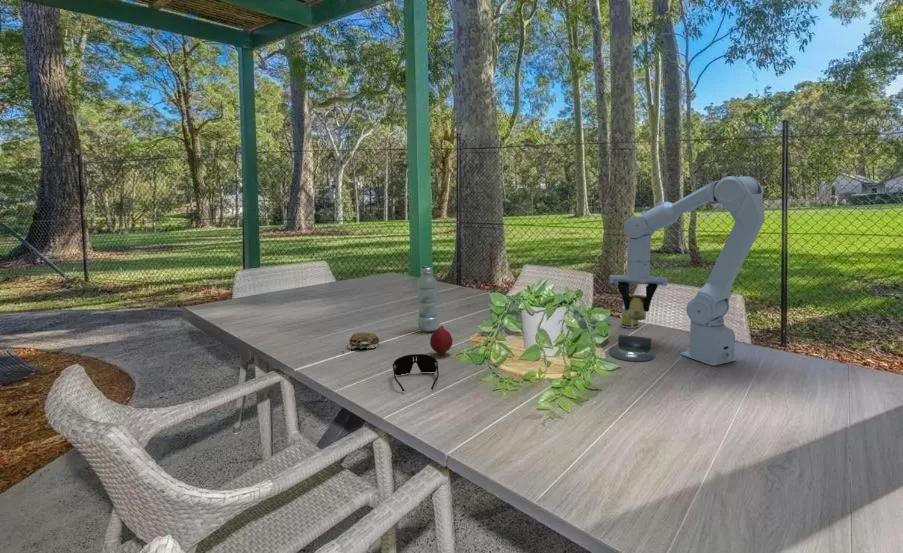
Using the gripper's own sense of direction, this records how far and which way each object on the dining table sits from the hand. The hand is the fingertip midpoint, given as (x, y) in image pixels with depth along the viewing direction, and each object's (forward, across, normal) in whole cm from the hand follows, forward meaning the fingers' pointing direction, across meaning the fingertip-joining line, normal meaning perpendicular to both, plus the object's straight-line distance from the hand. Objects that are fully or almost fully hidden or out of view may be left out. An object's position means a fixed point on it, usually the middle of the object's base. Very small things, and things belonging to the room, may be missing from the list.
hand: (636, 310), depth 134 cm
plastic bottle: (+9, +59, +14) cm, 61 cm away
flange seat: (+9, -1, +12) cm, 15 cm away
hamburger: (+10, +68, +36) cm, 78 cm away
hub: (+2, 0, 0) cm, 2 cm away
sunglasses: (+9, +39, +50) cm, 65 cm away
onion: (+9, +44, +32) cm, 55 cm away
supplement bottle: (+9, +4, -15) cm, 18 cm away
